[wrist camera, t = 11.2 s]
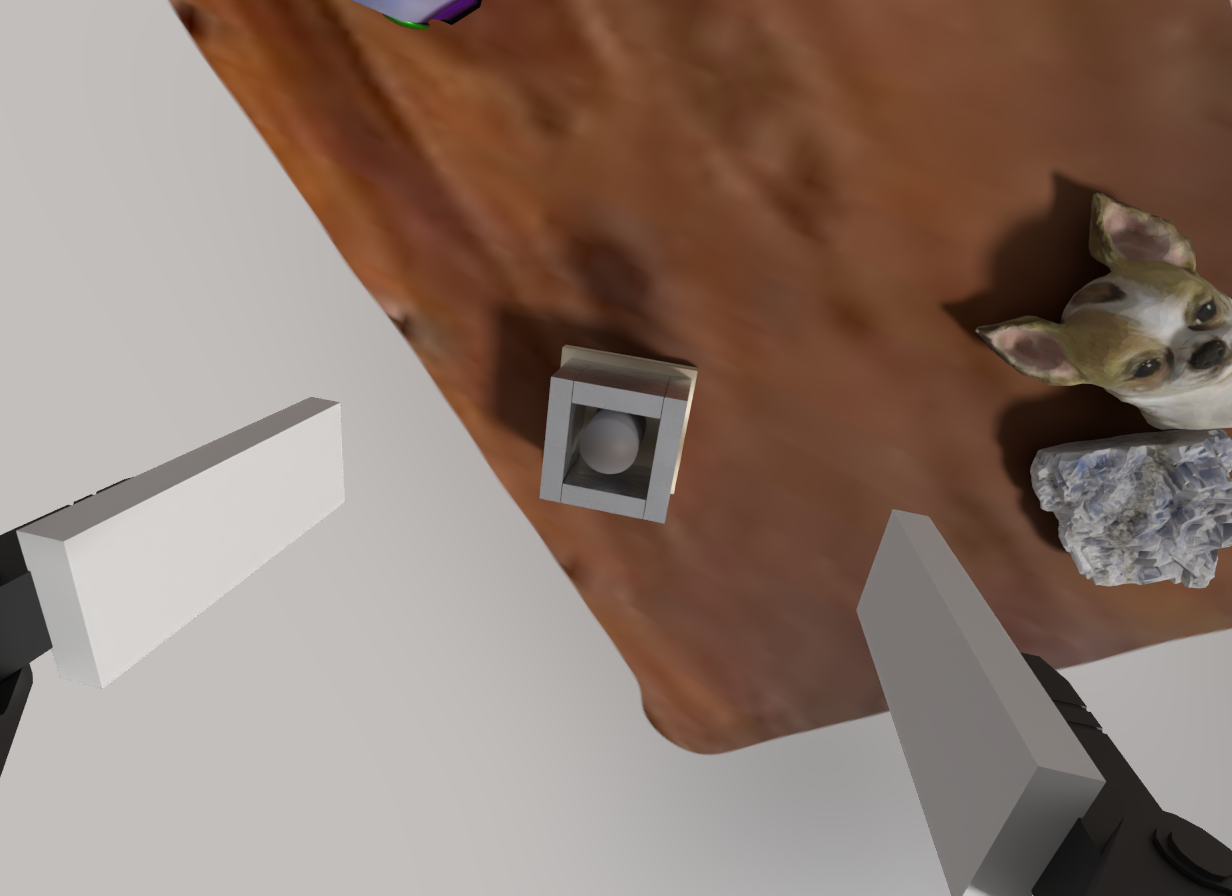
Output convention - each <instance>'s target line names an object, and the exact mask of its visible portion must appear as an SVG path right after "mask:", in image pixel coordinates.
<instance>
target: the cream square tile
mask: <svg viewBox="0 0 1232 896" xmlns="http://www.w3.org/2000/svg"><path fill="white" fill-rule="evenodd" d="M570 358H576V359H581V360H587V361H593V362H599V363H604V364H610V365H616V366H621V367H627V368H633V369H638V370H644V371H650V372H655V373H661V374H667V375H672V376H678V377H684V378H690V379H692V381H691V387H690V392H689V398H688V403H687V408H686V413H685V419H684V424H683V429H682V434H681V440H680V445H679V450H678V455H677V461H676V466H675V471H674V476H673V482H672V487H671V492H670V494H674V490H675V485H676V480H677V474H678V469H679V464H680V459H681V454H682V449H683V444H684V439H685V434H686V428H687V423H688V418H689V413H690V408H691V403H692V398H693V393H694V387H695V382H696V377H697V372H698V368H697V367H691V366H686V365H680V364H674V363H668V362H663V361H657V360H651V359H646V358H640V357H634V356H629V355H623V354H617V353H611V352H606V351H600V350H594V349H589V348H583V347H577V346H572V345H565V346H563V347H562V357H561V367H562V366H563V365H564V364H565V363H566V362H567V361H568V360H569V359H570ZM561 367H560V368H561ZM670 378H671V377H670ZM661 415H662V414H661ZM660 421H661V417H660V419H658V418H652V417H647V416H641V415H636V414H631V413H625V412H620V411H614V410H609V409H603V408H598V407H592V406H587V405H585V413H584V421H583V429H582V435H581V438H580V444H579V446H580V454H581V455H582V457H583V459H584V460H585V462H586V463H587V464H588V465H589V466H590V467H591V468H593V469H594V470H596V471H598V472H601V473H605V474H616V473H620V472H622V471H624V470H626V469H627V468H629V467H630V466H631V465H632V464H634V465H639V466H645V467H650V468H652V466H653V461H654V455H655V449H656V444H657V438H658V432H659V426H660ZM580 454H579V455H580Z"/></svg>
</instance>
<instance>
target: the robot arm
mask: <svg viewBox="0 0 1232 896" xmlns="http://www.w3.org/2000/svg"><path fill="white" fill-rule="evenodd" d="M342 452H343V451H342V432H341V409H340V403H339V402H335V401H330V400H324V399H319V398H314V397H310V398H308V399H305V400H303V401H301V402H299V403H297V404H294V405H292V406H290V407H288V408H286V409H283V410H281V411H279V412H277V413H275V414H272V415H270V416H268V417H266V418H263V419H262V420H259V421H257V422H255V423H252V424H250V425H248V426H246V427H244V428H241V429H240V430H237V431H235V432H233V433H230V434H228V435H226V436H224V437H222V438H219V439H217V440H215V441H213V442H211V443H208V444H206V445H204V446H202V447H200V448H197V449H195V450H193V451H191V452H189V453H186V454H184V455H182V456H180V457H177V458H175V459H173V460H171V461H169V462H167V463H164V464H162V465H160V466H158V467H156V468H153V469H151V470H149V471H147V472H144V473H142V474H140V475H138V476H136V477H132V478H128V479H124V480H122V481H120V482H118V483H115V484H113V485H111V486H109V487H106V488H104V489H102V490H100V491H97V493H96V495H92V494H91V495H89V496H86V497H84V498H82V499H80V500H78V501H75V502H74V504H73V505H72V506H71V505H67V506H65V507H62V508H60V509H57V510H55V511H53V512H51V513H49V514H46V515H44V516H42V517H40V518H37V519H35V520H33V521H31V522H29V523H27V524H24V525H22V526H20V527H17V528H15V529H13V530H11V531H9V532H6V533H4V534H2V535H0V776H1V773H2V771H3V768H4V765H5V762H6V759H7V756H8V753H9V750H10V747H11V745H12V742H13V739H14V736H15V733H16V730H17V727H18V724H19V721H20V719H21V716H22V713H23V710H24V707H25V704H26V701H27V698H28V695H29V692H30V690H31V687H32V684H33V675H32V670H31V667H30V664H29V663H30V662H31V661H33V660H34V659H36V658H37V657H39V656H41V655H42V654H44V653H45V652H47V651H48V650H49V649H51V650H52V653H53V656H54V660H55V663H56V666H57V670H58V673H59V677H60V678H62V679H66V680H70V681H74V682H78V683H81V684H85V685H89V686H93V687H97V688H101V689H103V688H104V687H105V686H107V685H108V684H109V683H110V682H112V681H113V680H115V679H116V678H117V677H119V676H120V675H121V674H122V673H124V672H125V671H126V670H127V669H129V668H130V667H132V666H133V665H134V664H135V663H137V662H138V661H139V660H141V659H142V658H143V657H144V656H146V655H147V654H148V653H150V652H151V651H152V650H154V649H155V648H156V647H157V646H159V645H160V644H161V643H162V642H164V641H165V640H167V639H168V638H169V637H170V636H172V635H173V634H174V633H176V632H177V631H178V630H179V629H181V628H182V627H183V626H184V625H186V624H187V623H188V622H190V621H191V620H192V619H194V618H195V617H196V616H198V615H199V614H200V613H201V612H203V611H204V610H205V609H207V608H208V607H209V606H211V605H212V604H213V603H215V602H216V601H217V600H218V599H220V598H221V597H222V596H223V595H225V594H226V593H227V592H228V591H230V590H231V589H233V588H234V587H235V586H237V585H238V584H239V583H240V582H242V581H243V580H244V579H246V578H247V577H248V576H249V575H251V574H252V573H253V572H255V571H256V570H257V569H259V568H260V567H261V566H262V565H264V564H265V563H266V562H268V561H269V560H270V559H271V558H273V557H274V556H275V555H277V554H278V553H279V552H281V551H282V550H283V549H285V548H286V547H287V546H288V545H290V544H291V543H292V542H293V541H295V540H296V539H297V538H299V537H300V536H301V535H303V534H304V533H305V532H307V531H308V530H309V529H310V528H312V527H313V526H314V525H316V524H317V523H318V522H319V521H321V520H322V519H323V518H325V517H326V516H327V515H328V514H330V513H331V512H332V511H334V510H335V509H336V508H338V507H339V506H340V505H342V504H343V503H344V502H345V495H344V472H343V453H342ZM857 613H858V616H859V619H860V622H861V625H862V628H863V631H864V634H865V637H866V640H867V643H868V646H869V649H870V652H871V655H872V658H873V661H874V664H875V667H876V670H877V673H878V676H879V679H880V682H881V685H882V688H883V691H884V694H885V697H886V700H887V703H888V706H889V709H890V712H891V715H892V718H893V721H894V724H895V727H896V730H897V733H898V736H899V739H900V742H901V745H902V748H903V751H904V754H905V757H906V760H907V763H908V766H909V769H910V772H911V775H912V778H913V781H914V784H915V787H916V791H917V793H918V797H919V800H920V802H921V806H922V808H923V811H924V815H925V817H926V821H927V823H928V827H929V829H930V833H931V835H932V839H933V841H934V845H935V848H936V851H937V854H938V857H939V860H940V863H941V866H942V868H943V871H944V875H945V878H946V881H947V883H948V887H949V890H950V893H951V896H1032V895H1033V896H1232V851H1231V850H1230V849H1229V848H1228V847H1226V846H1225V845H1224V844H1222V843H1221V842H1220V841H1218V840H1217V839H1216V838H1214V837H1213V836H1211V835H1210V834H1209V833H1207V832H1206V831H1205V830H1203V829H1202V828H1200V827H1198V826H1196V825H1194V824H1192V823H1190V822H1188V821H1187V820H1185V819H1182V818H1181V817H1179V816H1177V815H1175V814H1172V813H1169V812H1165V811H1163V810H1162V809H1161V808H1160V807H1159V805H1158V803H1157V802H1156V801H1155V799H1154V798H1153V797H1152V795H1151V794H1150V793H1149V791H1148V790H1147V788H1146V787H1145V786H1144V784H1143V783H1142V782H1141V780H1140V779H1139V778H1138V776H1137V775H1136V774H1135V772H1134V771H1133V769H1132V768H1131V767H1130V765H1129V764H1128V762H1127V761H1126V760H1125V758H1123V756H1122V754H1121V753H1120V752H1119V750H1118V749H1117V748H1116V746H1115V745H1114V743H1113V742H1112V741H1111V739H1110V738H1109V737H1108V735H1107V734H1104V733H1102V727H1101V726H1100V724H1099V723H1098V721H1097V720H1096V719H1095V718H1094V716H1093V715H1092V713H1091V712H1088V711H1087V710H1086V708H1087V706H1086V705H1085V704H1084V702H1083V701H1082V700H1081V698H1080V697H1079V696H1078V694H1077V693H1076V691H1075V690H1074V689H1073V687H1072V686H1071V685H1070V683H1069V682H1068V681H1067V680H1066V679H1065V678H1064V677H1062V676H1061V675H1060V674H1059V673H1058V672H1057V671H1056V670H1054V669H1053V668H1052V667H1051V666H1050V665H1049V664H1047V663H1046V662H1045V661H1044V660H1043V659H1042V658H1040V657H1039V656H1035V655H1030V654H1025V653H1020V652H1019V651H1018V649H1017V648H1016V646H1015V645H1014V643H1013V642H1012V640H1011V639H1010V637H1009V636H1008V634H1007V633H1006V631H1005V630H1004V628H1003V627H1002V625H1001V624H1000V622H999V621H998V619H997V618H996V616H995V615H994V613H993V612H992V610H991V609H990V607H989V606H988V604H987V603H986V601H985V600H984V598H983V597H982V595H981V594H980V592H979V591H978V589H977V588H976V586H975V585H974V583H973V582H972V580H971V579H970V578H969V576H968V575H967V573H966V572H965V570H964V569H963V567H962V566H961V564H960V563H959V561H958V560H957V558H956V557H955V555H954V554H953V552H952V551H951V549H950V548H949V546H948V545H947V543H946V542H945V540H944V539H943V537H942V536H941V534H940V533H939V531H938V530H937V528H936V527H935V525H934V524H933V522H932V521H931V519H930V518H929V516H925V515H919V514H914V513H909V512H904V511H899V510H894V509H893V510H892V513H891V516H890V518H889V521H888V524H887V527H886V529H885V532H884V535H883V538H882V540H881V543H880V546H879V549H878V552H877V554H876V557H875V560H874V563H873V565H872V568H871V571H870V574H869V576H868V579H867V582H866V585H865V588H864V590H863V593H862V596H861V599H860V601H859V604H858V607H857Z"/></svg>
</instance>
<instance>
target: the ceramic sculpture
mask: <svg viewBox="0 0 1232 896" xmlns="http://www.w3.org/2000/svg"><path fill="white" fill-rule="evenodd" d="M1088 249H1089V251H1090V254H1091V256H1092V257H1093V258H1094V259H1095V260H1097V261H1098V262H1100V263H1102V264H1104V265H1106V266H1107V267H1109V268H1110V270H1111V272H1110V273H1109V274H1108V275H1106V276H1103V277H1100V278H1097V279H1095V280H1093V281H1091V282H1089V283H1088V284H1087V285H1085V286H1084V287H1083V288H1081V289H1080V290H1079V291H1078V292H1076V293H1075V294H1074V295H1073V297H1072V298H1071V300H1070V301H1069V303H1068V304H1067V306H1066V307H1065V309H1064V311H1063V314H1062V318H1061V324H1057V323H1054V322H1052V321H1047V320H1045V319H1042V318H1040V317H1037V316H1023V317H1019V318H1015V319H1012V320H1008V321H1005V322H1001V323H998V324H993V325H984V326H980V327H977V328H976V329H975V330H976V333H977V334H978V335H979V336H980V337H981V338H982V339H983V340H984V341H986V342H987V344H988V346H989V348H990V349H991V350H993V351H994V352H995V353H996V354H997V355H998V356H999V357H1001V358H1002V359H1003V360H1004V361H1005V362H1006V363H1008V364H1009V365H1011V366H1012V367H1013V368H1015V369H1016V370H1017V371H1018V372H1020V373H1021V374H1022V375H1024V376H1028V377H1032V378H1035V379H1037V380H1039V381H1042V382H1043V383H1045V384H1047V385H1058V386H1071V385H1077V384H1082V383H1083V384H1095V385H1097V386H1100V387H1103V388H1104V389H1105V390H1106V391H1107V392H1109V393H1110V394H1112V395H1114V396H1115V397H1117V398H1118V399H1120V401H1122V402H1128V403H1130V404H1132V405H1135V406H1136V407H1138V408H1139V410H1140V412H1141V414H1142V415H1143V417H1144V418H1145V419H1146V421H1147V423H1148V424H1150V425H1152V426H1153V427H1155V428H1158V429H1161V430H1167V429H1193V430H1200V429H1216V428H1232V299H1231V298H1229V297H1228V296H1227V295H1226V294H1225V293H1223V292H1221V291H1220V290H1218V289H1216V288H1215V287H1214V286H1212V285H1211V284H1210V283H1209V282H1207V281H1206V280H1205V279H1203V278H1201V277H1200V276H1199V275H1198V274H1197V272H1196V270H1195V266H1196V263H1195V257H1196V255H1195V252H1194V249H1193V247H1192V244H1191V241H1190V239H1188V238H1187V237H1185V236H1183V235H1182V234H1181V233H1179V232H1178V231H1177V230H1176V228H1175V227H1174V225H1173V224H1172V223H1171V222H1170V221H1168V220H1165V219H1162V218H1160V217H1158V216H1153V215H1151V214H1150V213H1149V212H1146V211H1143V210H1140V209H1138V208H1136V207H1133V206H1129V205H1127V204H1125V203H1122V202H1118V201H1115V200H1114V199H1112V198H1110V197H1109V196H1107V195H1105V194H1103V193H1100V192H1096V193H1094V195H1093V196H1092V198H1091V221H1090V232H1089V245H1088Z"/></svg>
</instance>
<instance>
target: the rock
mask: <svg viewBox="0 0 1232 896" xmlns="http://www.w3.org/2000/svg"><path fill="white" fill-rule="evenodd" d="M1231 469H1232V440H1231V439H1230V437H1228V436H1227V434H1226V433H1225V431H1224V430H1222V429H1221V428H1216V429H1200V430H1193V429H1192V430H1191V429H1185V430H1171V431H1161V432H1147V433H1135V434H1128V435H1121V436H1115V437H1111V438H1104V439H1096V440H1089V441H1077V442H1070V443H1065V444H1060V445H1056V446H1053V447H1048V448H1044V449H1041V450H1039V451H1038V452H1037V454H1036V456H1035V459H1034V461H1033V463H1032V465H1031V469H1030V473H1031V476H1032V479H1031V481H1032V487H1033V489H1034V491H1035V494H1036V496H1037V497H1038V498H1039V499H1040V507H1041V509H1043V510H1045V511H1053V512H1054V514H1055V516H1056V518H1057V519H1058V520H1059V527H1058V530H1059V535H1058V536H1059V538H1060V541H1061V543H1062V545H1063V547H1064V548H1065V549H1066V551H1067V552H1069V553H1070V554H1071V557H1072V559H1073V561H1074V563H1075V564H1076V566H1077V567H1078V570H1079V572H1080V573H1081V574H1083V575H1084V576H1085V577H1086V578H1087V579H1090V580H1091V581H1093V582H1094V583H1095V584H1096V585H1104V586H1116V585H1120V584H1128V583H1137V584H1139V585H1143V584H1149V583H1153V582H1158V581H1162V580H1167V579H1169V580H1170V581H1171V582H1173V583H1174V584H1176V583H1180V582H1182V583H1183V584H1184V586H1185V587H1192V588H1205V587H1206V586H1207V585H1208V584H1209V581H1210V579H1212V578H1213V577H1215V575H1214V572H1215V567H1216V563H1217V560H1218V548H1223V547H1229V546H1231V545H1232V479H1231V478H1230V476H1229V473H1228V472H1230V471H1231Z"/></svg>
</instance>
